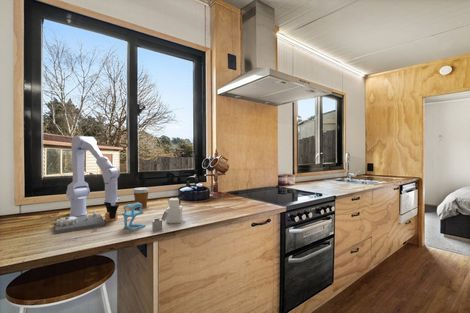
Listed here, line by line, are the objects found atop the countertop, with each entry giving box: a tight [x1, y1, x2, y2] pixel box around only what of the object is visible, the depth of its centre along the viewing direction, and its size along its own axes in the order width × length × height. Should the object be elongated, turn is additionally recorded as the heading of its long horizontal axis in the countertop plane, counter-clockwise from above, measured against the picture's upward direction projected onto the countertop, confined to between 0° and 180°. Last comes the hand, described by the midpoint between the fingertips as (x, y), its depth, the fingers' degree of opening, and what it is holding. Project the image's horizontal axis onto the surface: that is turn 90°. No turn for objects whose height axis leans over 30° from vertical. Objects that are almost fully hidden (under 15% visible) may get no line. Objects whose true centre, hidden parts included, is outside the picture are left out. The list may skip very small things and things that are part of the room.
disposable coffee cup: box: [132, 186, 150, 210], centre depth 149 cm, size 10×10×12 cm
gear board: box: [55, 210, 106, 234], centre depth 115 cm, size 18×19×4 cm
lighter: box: [151, 210, 168, 232], centre depth 110 cm, size 7×2×8 cm, turn 125°
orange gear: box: [104, 211, 118, 222], centre depth 123 cm, size 6×6×4 cm
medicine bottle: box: [165, 196, 183, 224], centre depth 122 cm, size 7×7×12 cm
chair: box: [122, 202, 146, 232], centre depth 111 cm, size 8×8×12 cm
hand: (111, 216), depth 123 cm, fingers open, 7 cm apart
